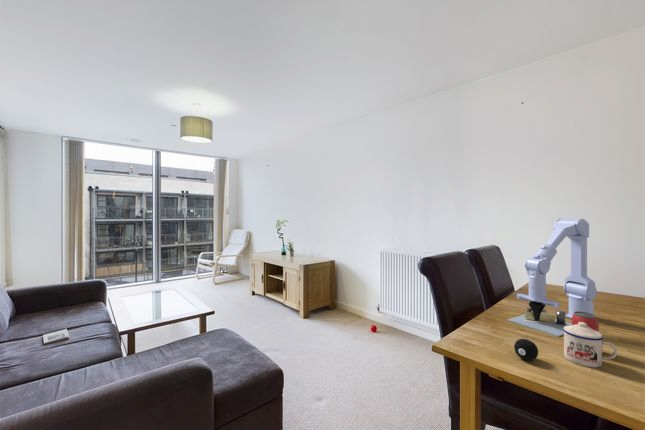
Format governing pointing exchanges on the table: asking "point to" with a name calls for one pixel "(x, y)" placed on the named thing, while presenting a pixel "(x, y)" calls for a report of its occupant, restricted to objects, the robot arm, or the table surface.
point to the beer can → (586, 320)
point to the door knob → (560, 318)
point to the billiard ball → (526, 349)
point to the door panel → (540, 325)
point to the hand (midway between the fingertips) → (536, 320)
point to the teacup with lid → (585, 345)
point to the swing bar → (543, 316)
